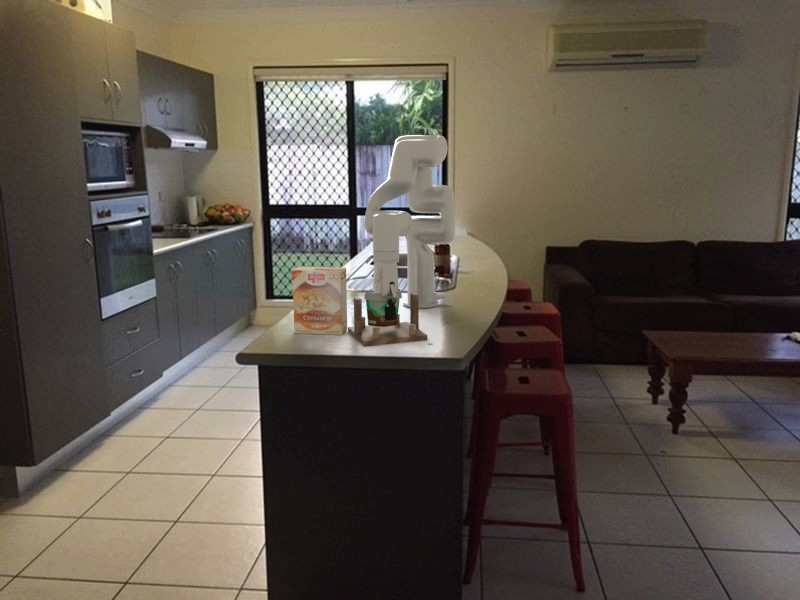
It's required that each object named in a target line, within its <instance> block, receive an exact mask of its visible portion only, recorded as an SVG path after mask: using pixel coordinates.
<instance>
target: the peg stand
mask: <svg viewBox="0 0 800 600" xmlns="http://www.w3.org/2000/svg"><path fill="white" fill-rule="evenodd" d="M362 309H363V301H362V298H360V297H359V296H358V297H357V296H355V297H353V326H347V332H348V333H349V335H351V336H352V337H353V338H354V339H355V338H356V339H355V340H357V341H358V342H359V343H360V344H361V345H362V346H363V347H373V346H380V345H381V346H382V345H392V344H391V343H393V344H401V343H400V342H403V343H411V342H410V341H413V342H421V340H423V341H428V334H427V333H425V332H423V331H422V330H421V329H420V328H419V326H420V325H419V319H420V318H419V315H420V314H419V312H420V311H419V310H420V308H419V295H418V294H416V293H410V307H409V311H410V312H409V313H410V316H409V317H410V319H409V320H410V321H409V322H408V321H403V322H402V321H400V318H401V317H400V314H399V313H398V319H397V324H396V325H394V326H389V327H376V326H370V325H368V324H367V325H366V317H365V316H363V310H362Z"/></svg>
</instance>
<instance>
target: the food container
mask: <svg viewBox="0 0 800 600" xmlns="http://www.w3.org/2000/svg"><path fill="white" fill-rule="evenodd" d="M402 295H403V294H402V291H401V289H400V288H398V295H397V299H396V319H395V320H385V307H386V298H388V302H389V299H391V298H390V297H391V293H388V294H387V296H385V297H381V293H374V292H369V291H365V294H364V297H363V300H365V304H366V305H365V306H366V315H367V317H366V318H367V325H370V326H376V327H389V326H394V325H396V324H397V319H398V314H399V308H400V300H401V299H402V298H403V296H402Z"/></svg>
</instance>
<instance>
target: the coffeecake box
mask: <svg viewBox="0 0 800 600" xmlns="http://www.w3.org/2000/svg"><path fill="white" fill-rule="evenodd" d="M291 271H292V272H291V273H292V298H293V299H292V301H293V303H292V304H293V324H294V325H293V327H294V328H293V329H294V334H299V335H300V334H305V335H306V334H307V335H328V334H330V335H329V336H332V335H333V336H343V335H344V333H345V332H347V331H348V300H347V299H348V297H347V294H348V292H347V289H348V288H347V268H346V267H334V266H333V267H331V266H330V267H329V266H325V267H324V266H297V267H295V268H293V269H292V270H291ZM342 334H343V335H342Z"/></svg>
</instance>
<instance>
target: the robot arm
mask: <svg viewBox="0 0 800 600" xmlns="http://www.w3.org/2000/svg"><path fill="white" fill-rule="evenodd" d="M448 148H449V147H448V142H447V139H446V137H445V136H443V135H439V134H437V135H436V134H431V135H430V134H426V135H422V134H418V135H417V134H411V135H402V136H398V138H396V139H395V141H394V147H393V151H392V156H391V159H390V165H389V170H388V174H387V175H388V176H387V180H386V181H384V182H383V183H382V184H380V186H378V187H377V188H376V189H375V191H373V193H372V194H371V196H370V197H369V199H368V201H367V206H366V210H365V215H364V221H363V222H364V229H365V232H366V233H367V234H369V235H371V236H372V253H373V254H372V258H373V259H372V262H373V273H372V274H373V276H372V277H373V278H372V290H373V293H381V297H385V296H387V294H388V293H391V297H390V298H391V299H389V302H388V298H386V307H385V320H395V319H396V299H397V295H398V289H399V271H398V263H400V237H405V241H406V252H407V253H406V255H407V262H406V263H407V299H405V300H403V302H402V303H403V305H402V306H404V307H406V308H410V293H416V294H418V295H419V309H431V308H435V307H438V306H439V300H443V299H444V300H445V299H447V298H448V294H447V293H446V292H443V293H440V292H436V291H435V255H434V252H433V251H432V249H431V248H430V246H429V245H448V244H451V243H453V241H454V240H455V236H456V220H455V219H456V217H455V216H456V215H455V214H456V213H455V211H456V210H455V207H456V206H455V204H456V203H455V193H454V190H453V188H452V187H451V186H449V185H446V184H445V185H444V184H433V173H432V168H435V167H437V166H440V164H441V163H443V161H445V160H446V157H447V153H448ZM404 195H407V204H408V208H409V210H410V211H411V212H413V213H417V214H418V213H419V214H439V215H440V216H430V215H428V216H427V215H426V216H425V215H416V216H412V215H411V213H409V212H407V211H403V210H381V208H382V207H383V206H384V205H385V204H386V203H388V202H390V201H392V200H394V199H396V198H399V197H402V196H404Z"/></svg>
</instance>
